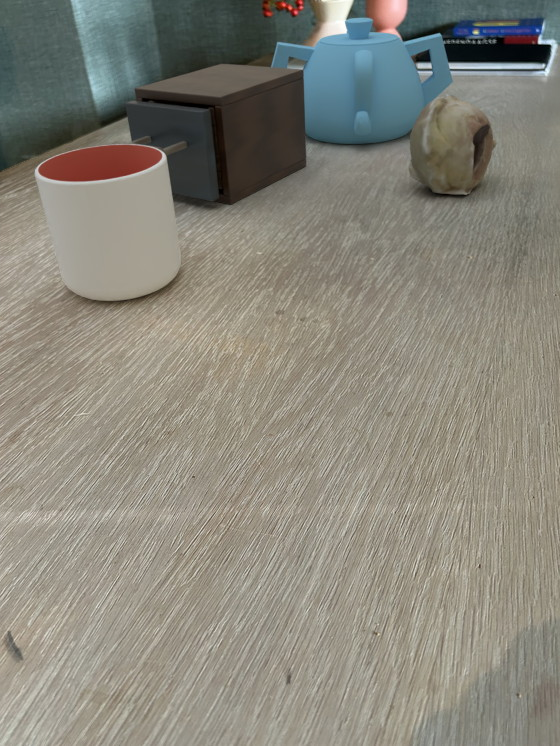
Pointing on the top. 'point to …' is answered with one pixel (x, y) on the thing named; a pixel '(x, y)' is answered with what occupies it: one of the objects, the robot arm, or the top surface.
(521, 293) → the top surface
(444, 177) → the garlic bulb
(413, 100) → the teapot
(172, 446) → the top surface
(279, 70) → the cabinet
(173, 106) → the drawer
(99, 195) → the cup
